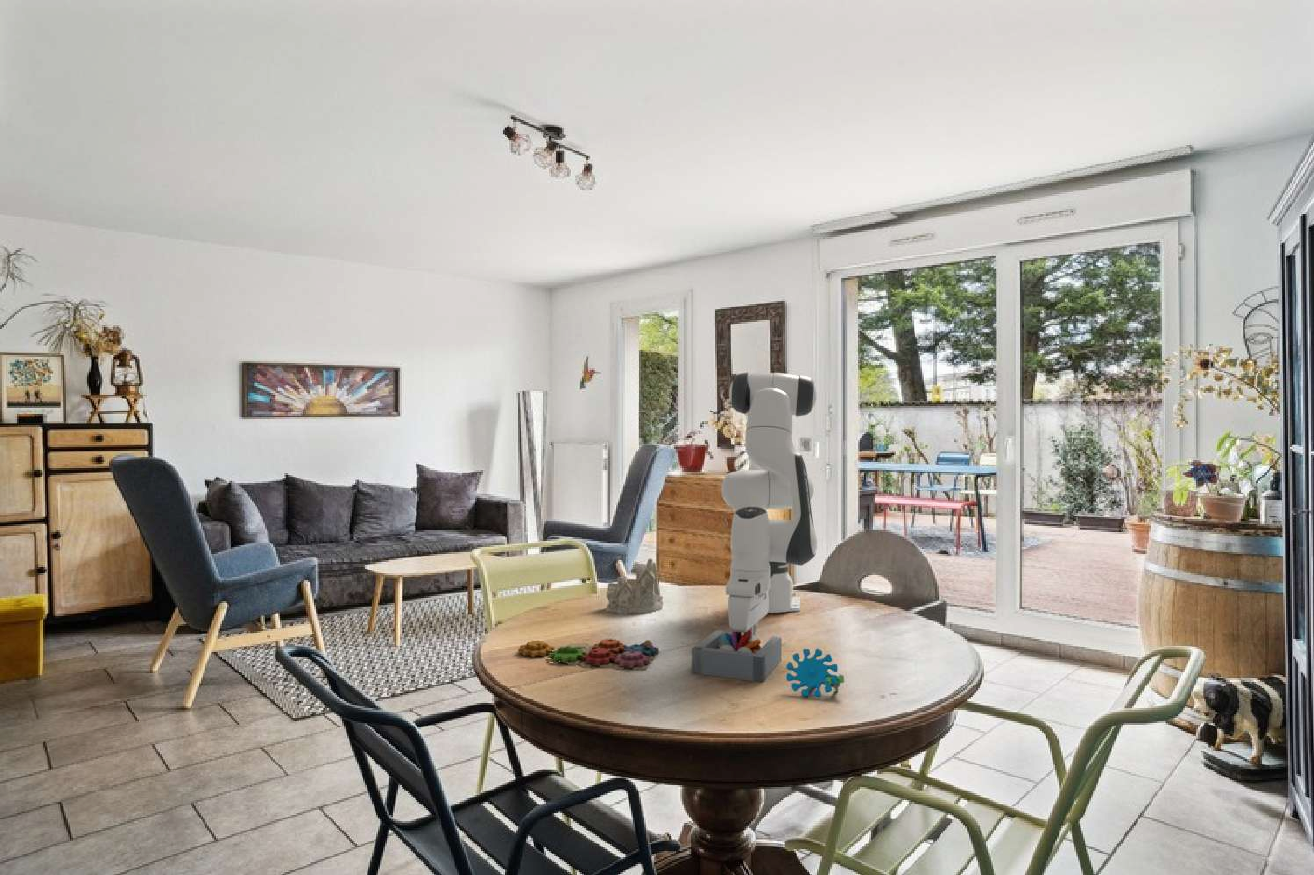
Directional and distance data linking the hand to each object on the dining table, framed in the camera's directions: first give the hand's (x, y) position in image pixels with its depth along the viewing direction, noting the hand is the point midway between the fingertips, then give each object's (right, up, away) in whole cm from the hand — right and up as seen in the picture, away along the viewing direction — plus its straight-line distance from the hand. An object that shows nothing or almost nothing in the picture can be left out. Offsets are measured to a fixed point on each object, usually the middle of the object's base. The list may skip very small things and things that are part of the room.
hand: (750, 642), depth 172 cm
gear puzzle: (-36, -3, -1) cm, 37 cm away
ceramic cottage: (-27, -3, +46) cm, 54 cm away
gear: (+9, -3, -25) cm, 26 cm away
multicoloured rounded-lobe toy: (-3, -3, -5) cm, 6 cm away
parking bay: (-3, -3, -8) cm, 9 cm away
